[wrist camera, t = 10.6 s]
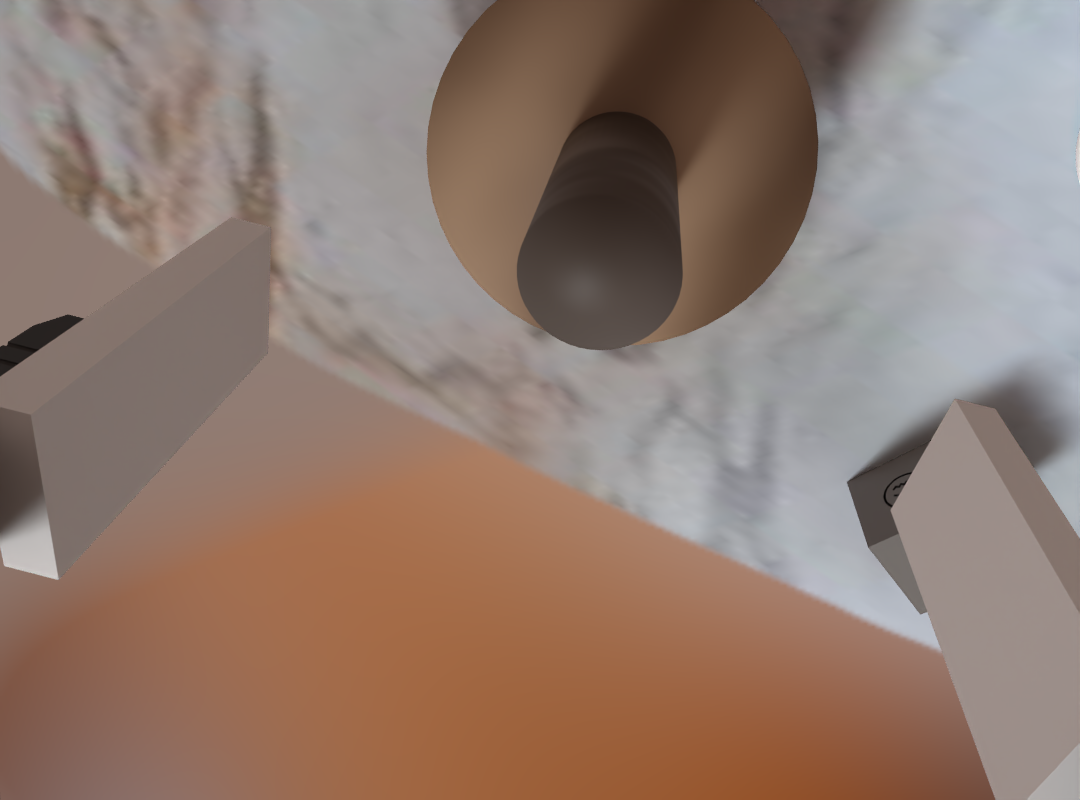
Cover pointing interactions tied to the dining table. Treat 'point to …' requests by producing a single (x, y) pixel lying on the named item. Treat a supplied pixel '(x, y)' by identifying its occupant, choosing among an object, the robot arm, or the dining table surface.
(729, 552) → the dining table surface
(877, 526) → the dice cube
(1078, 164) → the jar
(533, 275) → the lid
